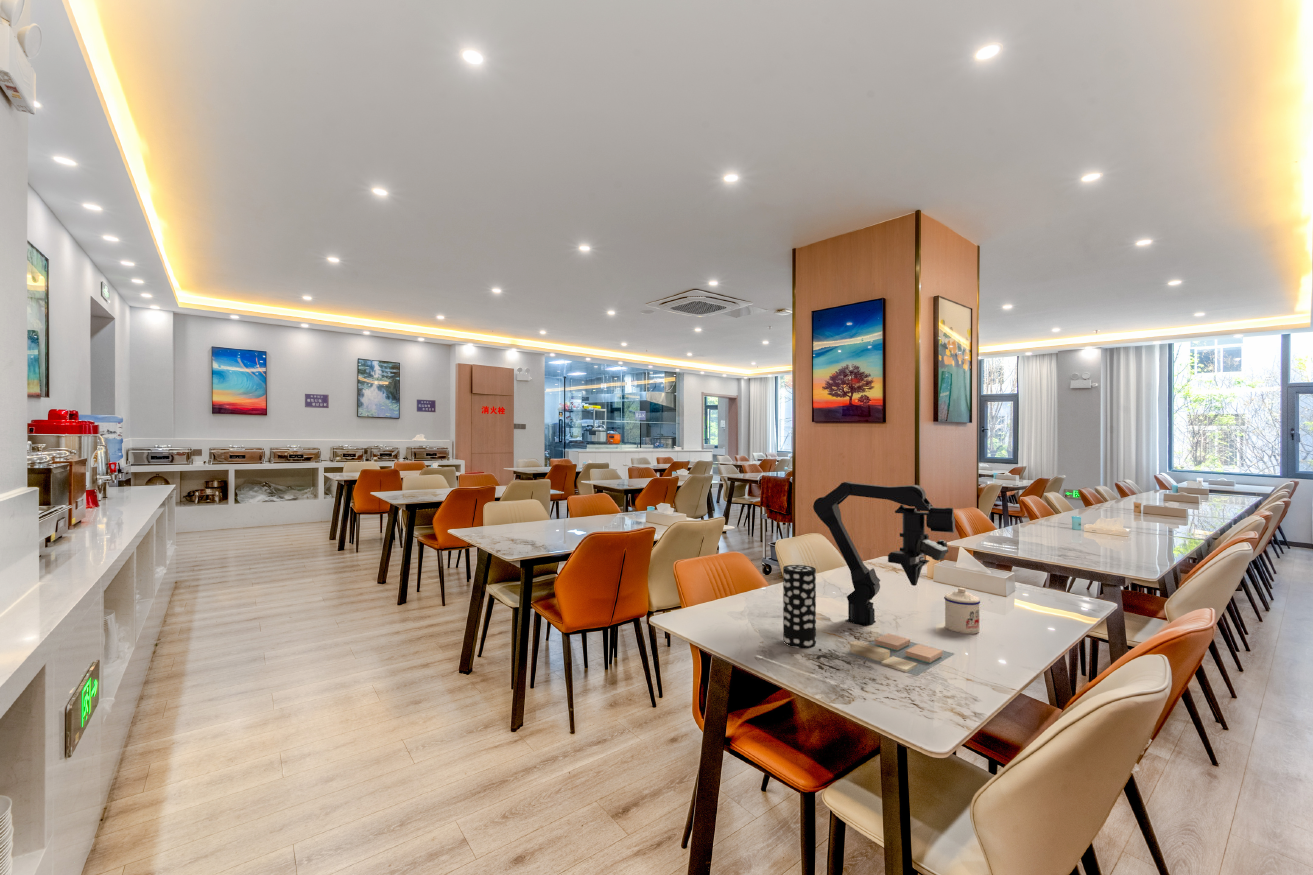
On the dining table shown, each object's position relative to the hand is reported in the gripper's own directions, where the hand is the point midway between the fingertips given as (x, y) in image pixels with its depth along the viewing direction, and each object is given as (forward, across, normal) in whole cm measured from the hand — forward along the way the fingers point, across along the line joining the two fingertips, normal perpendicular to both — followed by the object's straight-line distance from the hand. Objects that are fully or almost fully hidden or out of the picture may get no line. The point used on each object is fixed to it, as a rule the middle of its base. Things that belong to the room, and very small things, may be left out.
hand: (913, 585), depth 160 cm
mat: (+13, -20, -6) cm, 25 cm away
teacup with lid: (+13, +14, -8) cm, 21 cm away
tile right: (+12, -15, -11) cm, 22 cm away
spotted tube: (+13, -33, +15) cm, 39 cm away
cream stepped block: (+13, -28, -5) cm, 31 cm away
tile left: (+12, -13, -2) cm, 17 cm away
